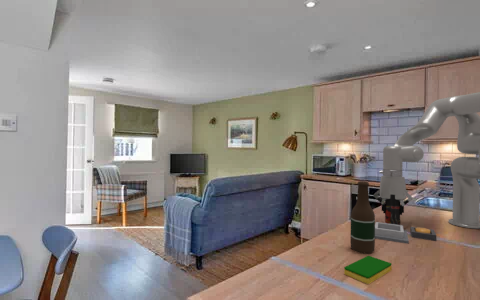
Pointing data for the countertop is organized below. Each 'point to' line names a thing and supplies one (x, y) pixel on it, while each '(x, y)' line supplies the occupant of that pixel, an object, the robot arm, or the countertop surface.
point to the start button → (422, 230)
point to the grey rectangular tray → (391, 232)
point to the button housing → (423, 234)
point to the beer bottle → (363, 222)
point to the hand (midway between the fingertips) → (392, 213)
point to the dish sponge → (367, 269)
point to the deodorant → (392, 210)
